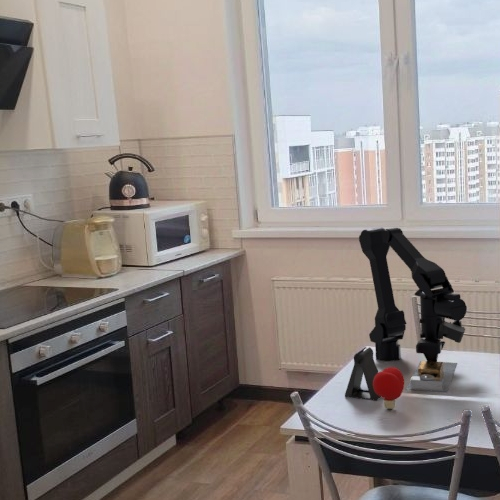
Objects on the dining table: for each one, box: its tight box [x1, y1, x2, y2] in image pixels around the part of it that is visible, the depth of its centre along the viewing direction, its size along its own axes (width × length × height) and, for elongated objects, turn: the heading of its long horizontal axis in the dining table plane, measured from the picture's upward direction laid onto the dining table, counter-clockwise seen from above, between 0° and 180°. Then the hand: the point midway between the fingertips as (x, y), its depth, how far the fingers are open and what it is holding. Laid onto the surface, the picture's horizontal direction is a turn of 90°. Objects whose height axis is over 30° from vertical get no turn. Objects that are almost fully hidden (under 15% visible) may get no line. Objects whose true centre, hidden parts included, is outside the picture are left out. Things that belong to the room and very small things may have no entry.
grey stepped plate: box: [405, 360, 458, 395], centre depth 203 cm, size 10×25×4 cm, turn 159°
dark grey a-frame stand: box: [344, 346, 382, 402], centre depth 193 cm, size 9×6×12 cm, turn 59°
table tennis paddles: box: [373, 366, 405, 411], centre depth 182 cm, size 9×7×10 cm
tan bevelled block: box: [418, 360, 444, 378], centre depth 199 cm, size 6×7×4 cm
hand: (433, 369), depth 204 cm, fingers closed
